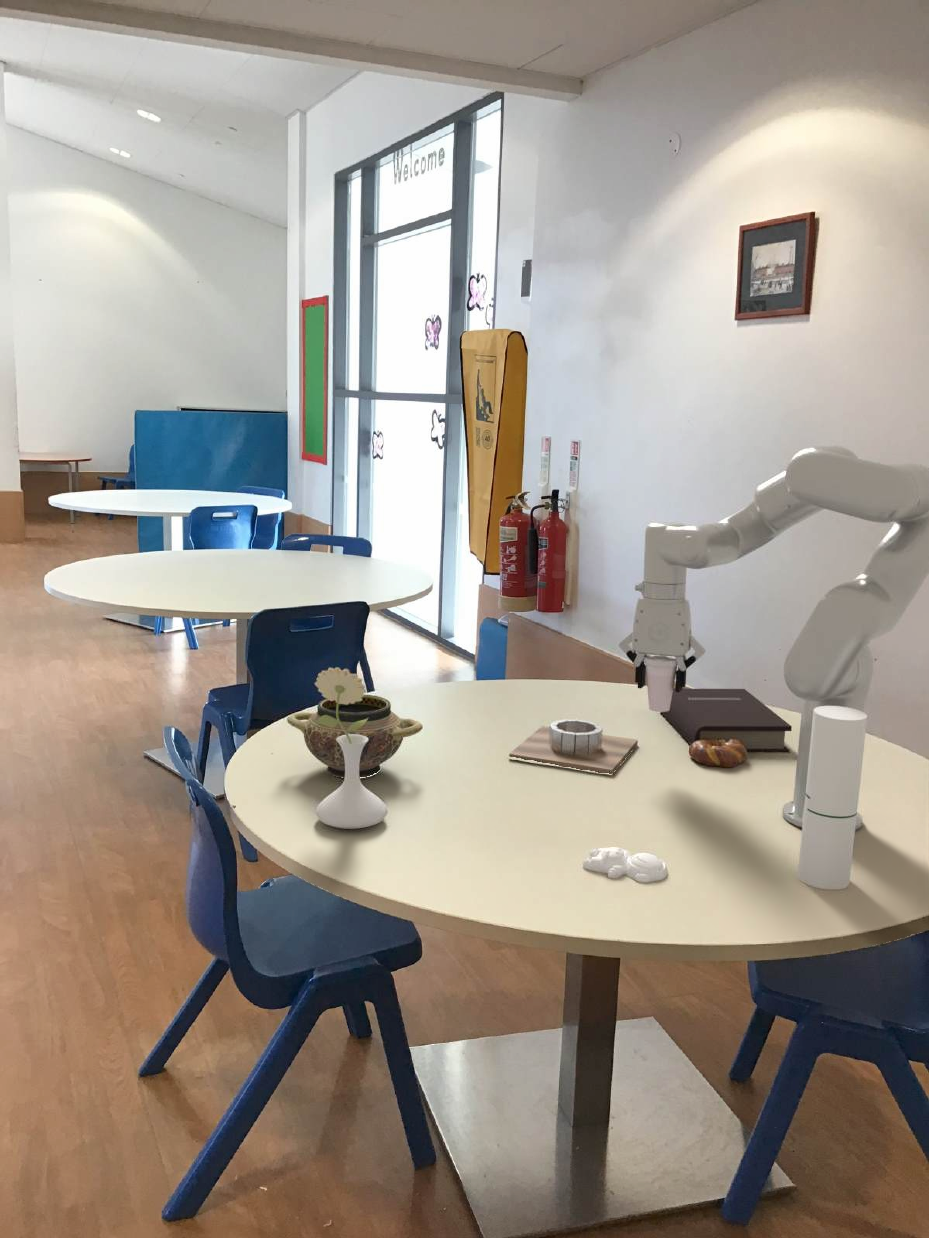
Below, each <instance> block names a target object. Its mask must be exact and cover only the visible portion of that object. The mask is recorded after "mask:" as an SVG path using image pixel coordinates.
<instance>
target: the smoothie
mask: <svg viewBox="0 0 929 1238" xmlns="http://www.w3.org/2000/svg"><path fill="white" fill-rule="evenodd" d="M644 664H645V665H646V687H647V699H648V709H649V710H650V711H652V712H657V713H661V712H666V711H669V710H670V704H671V698H672V693H673V688H674V687H675V686H674V685H675V683H676V671H677V670H678V664H677V661H676V658H675V657H673V656H661V655H650V654H647V655H646V656H645V657H644Z"/></svg>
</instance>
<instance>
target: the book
mask: <svg viewBox="0 0 929 1238" xmlns="http://www.w3.org/2000/svg"><path fill="white" fill-rule="evenodd" d="M660 713H661V714H662V715H663V716H664V717H665V718H666V719H667V721H669V722H670V724H671V725H672V726H673V728H675V730H676V731H678V733H679V734H680V735H681V736H682V737H683V738H684V740H685V741H686V742H687V743H689V746H690V745H691V744H692V743H694V742H695V741H698V740H700V739H703V738H704V739H706V738H709V739H713V740H714V739H718V738H721V739H724V740H725V741H729V739H735V740H738V741H740V742H741V743H742V744H743V745H744V747H745V749H746V750H747V754H748V753H758V754H759V753H764V754H765V753H768V754H769V753H775V754H776V753H779V754H781V753H785V754H786V753H788V754H789V753H790V749H789V748H787V746H785V738H786V732H792V730H793V729H792V725H791V724H789V723H788V722H787V721H786V720H784V719H783V718H782V717H781V716H780V715H778V714H777V713H776V712H774V711H773V710H772V709H771V708H769V707H768V706H767V705H765V704H764V703H763V702H761V701H760V699H758V698H757V697H755V696H754V695H753V694H752V693H750V692H749V691H748V690H746V689H745V688H682V690H681V691H680V692H676V691H675V688H674V687H673V693H672V698H671V704H670V710H669V711H666V712H660Z"/></svg>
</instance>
